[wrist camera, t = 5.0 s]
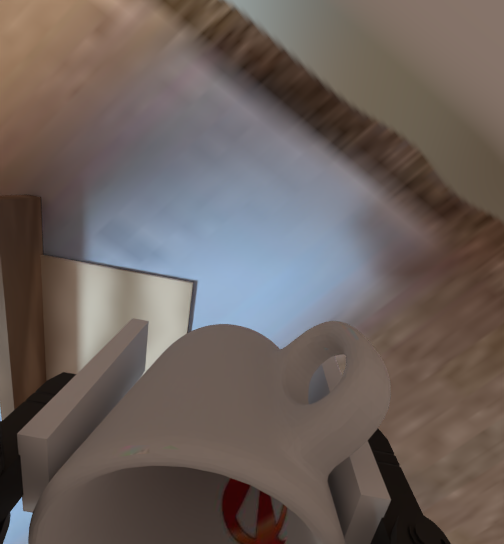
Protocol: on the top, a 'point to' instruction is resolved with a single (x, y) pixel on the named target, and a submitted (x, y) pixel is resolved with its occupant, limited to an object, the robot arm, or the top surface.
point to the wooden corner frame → (70, 306)
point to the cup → (221, 445)
